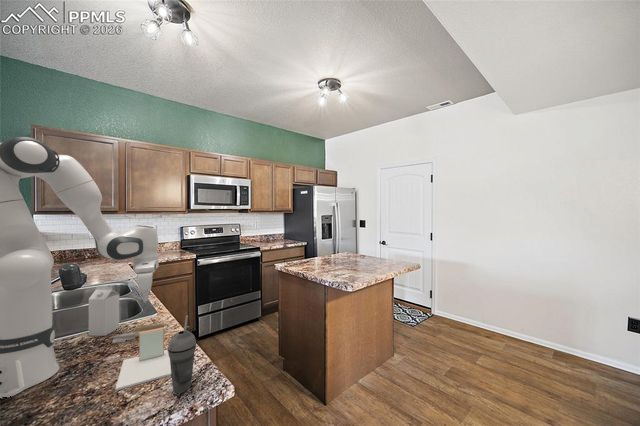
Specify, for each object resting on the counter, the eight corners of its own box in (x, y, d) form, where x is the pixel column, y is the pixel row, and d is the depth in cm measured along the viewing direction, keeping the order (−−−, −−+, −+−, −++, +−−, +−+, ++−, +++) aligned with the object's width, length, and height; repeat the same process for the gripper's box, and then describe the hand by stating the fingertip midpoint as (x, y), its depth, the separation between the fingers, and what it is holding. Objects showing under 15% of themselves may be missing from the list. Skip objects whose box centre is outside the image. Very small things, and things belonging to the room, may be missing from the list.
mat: (115, 390, 72) (115, 388, 72) (123, 361, 86) (123, 359, 86) (173, 374, 79) (173, 372, 79) (172, 350, 94) (171, 348, 94)
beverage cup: (169, 382, 75) (169, 313, 76) (197, 376, 78) (197, 310, 78) (164, 398, 68) (164, 323, 69) (195, 392, 71) (195, 318, 71)
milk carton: (103, 328, 112) (103, 284, 113) (119, 328, 112) (119, 284, 112) (88, 336, 105) (88, 289, 105) (105, 336, 105) (105, 289, 105)
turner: (114, 337, 104) (114, 329, 104) (164, 327, 113) (164, 320, 113) (112, 343, 99) (112, 335, 99) (164, 333, 108) (164, 325, 108)
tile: (139, 361, 85) (139, 334, 85) (139, 358, 87) (139, 331, 87) (163, 355, 89) (163, 329, 89) (163, 353, 90) (163, 327, 91)
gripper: (138, 261, 115) (139, 292, 115) (134, 269, 97) (135, 306, 97) (155, 259, 118) (156, 290, 118) (154, 267, 100) (154, 303, 100)
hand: (146, 297), depth 107 cm, fingers open, 8 cm apart
